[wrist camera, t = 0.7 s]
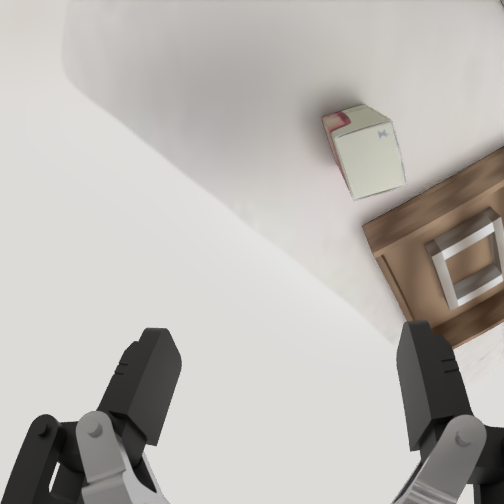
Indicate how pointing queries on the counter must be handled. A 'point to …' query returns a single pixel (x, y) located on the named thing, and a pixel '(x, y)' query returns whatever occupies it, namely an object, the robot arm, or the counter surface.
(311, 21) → the counter surface
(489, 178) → the crate
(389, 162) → the small box
